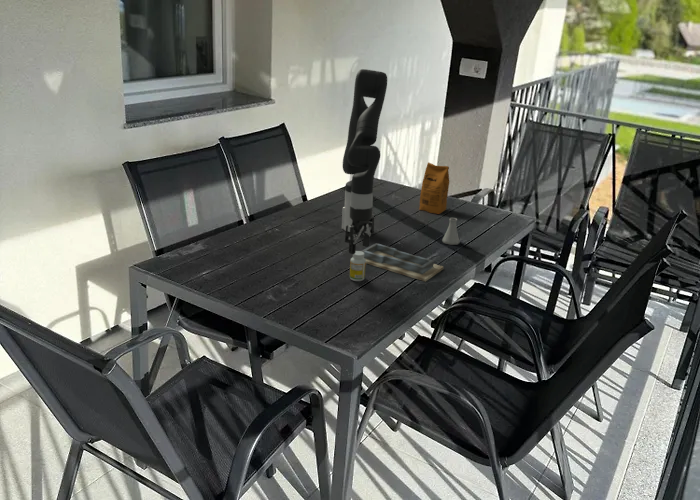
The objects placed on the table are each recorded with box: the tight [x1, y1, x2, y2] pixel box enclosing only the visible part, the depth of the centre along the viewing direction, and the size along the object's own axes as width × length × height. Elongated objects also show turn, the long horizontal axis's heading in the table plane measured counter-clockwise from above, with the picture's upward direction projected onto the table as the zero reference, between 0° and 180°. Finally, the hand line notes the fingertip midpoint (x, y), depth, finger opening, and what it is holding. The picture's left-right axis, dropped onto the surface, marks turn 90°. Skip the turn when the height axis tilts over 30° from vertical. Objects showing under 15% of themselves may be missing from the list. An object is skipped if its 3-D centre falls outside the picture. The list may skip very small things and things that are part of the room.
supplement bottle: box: [349, 250, 367, 282], centre depth 217 cm, size 5×5×10 cm
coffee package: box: [418, 162, 450, 215], centre depth 289 cm, size 10×12×22 cm
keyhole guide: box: [361, 242, 444, 282], centre depth 231 cm, size 30×14×4 cm, turn 56°
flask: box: [441, 217, 461, 246], centre depth 253 cm, size 7×7×10 cm
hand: (358, 249), depth 214 cm, fingers open, 8 cm apart
